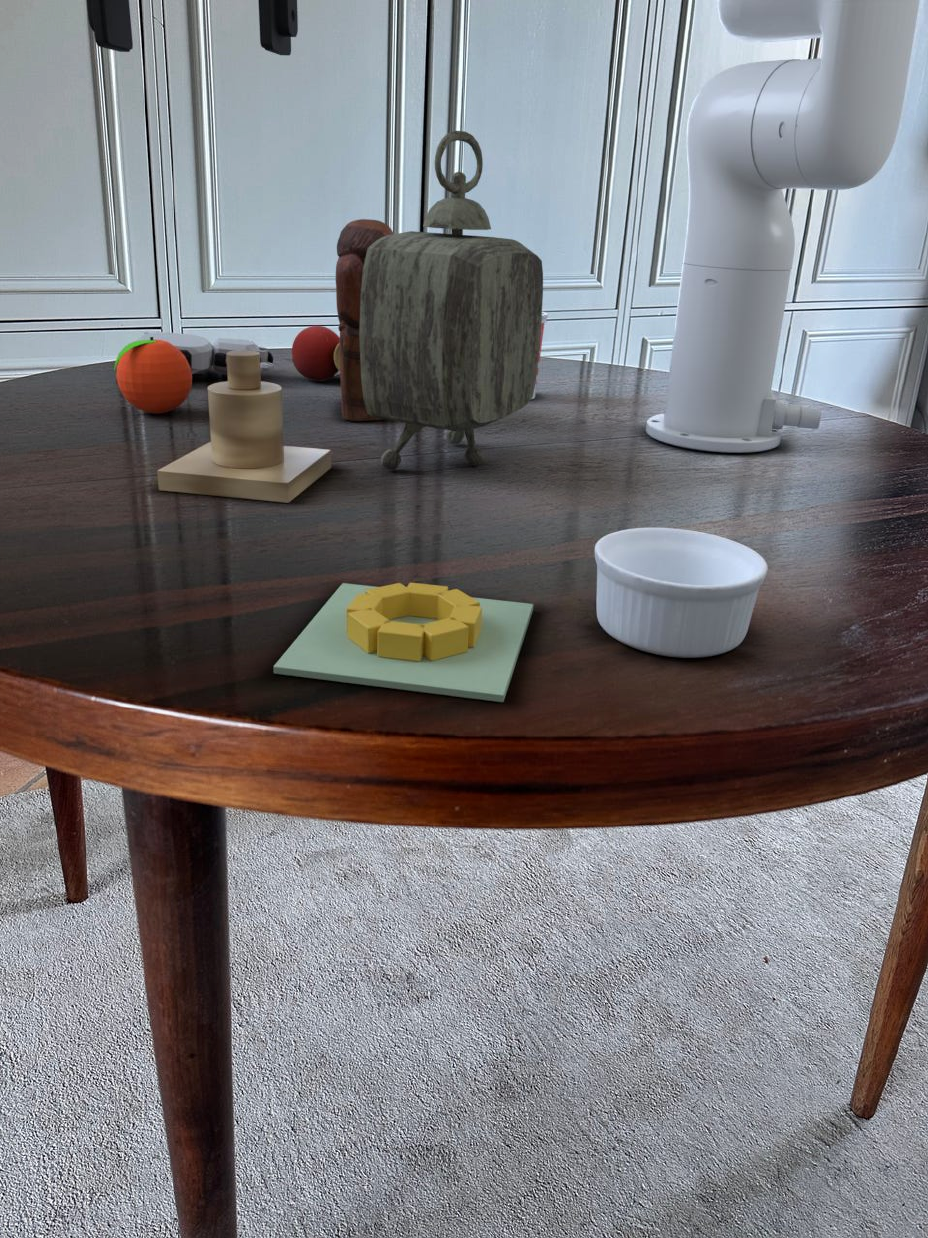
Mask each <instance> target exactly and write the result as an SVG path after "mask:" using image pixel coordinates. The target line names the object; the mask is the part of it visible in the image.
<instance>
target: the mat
mask: <svg viewBox="0 0 928 1238" xmlns="http://www.w3.org/2000/svg"><path fill="white" fill-rule="evenodd" d="M377 587H378V586H375V585H373V586H372V585H363V584H355V583H345V582H342V583H341V585H340V586H339V587H338V588H337V589H336V590H335V592H334V593H333V594H332V595H331V597H330V598H328V600H327V601H326V602H325V604H324V605H323V606H322V607H321V609H320V610H319V611H318V612H317V613H316V615H315V616H314V617H313V618H312V619H311V620H310V621H309V623H308V624H307V625H306V627H305V628H304V629H303V630H302V631H301V633H300V634H299V635H298V636H297V638H296V639H294V641H293V642H292V643H291V645H290V646H289V647H288V648H287V650H286V651H285V652H284V653H283V654H282V655H281V657H280V658H279V659H278V660H277V661H276V662H275V664H274V665H273V674H274V675H275V674H276V675H283V676H292V677H297V678H299V677H300V678H306V679H315V680H322V681H330V682H338V683H346V684H354V685H363V686H370V687H377V688H378V687H379V688H386V689H393V690H394V689H395V690H401V691H408V692H417V693H426V694H433V695H440V696H447V697H448V696H449V697H458V698H465V699H474V700H482V701H488V702H497V703H504V702H505V698H506V695H507V692H508V690H509V686H510V683H511V680H512V677H513V674H514V670H515V667H516V664H517V661H518V658H519V655H520V652H521V649H522V646H523V643H524V639H525V636H526V634H527V630H528V627H529V624H530V621H531V618H532V615H533V612H534V603H528V602H520V601H519V602H518V601H509V600H501V599H500V600H499V599H490V598H483V597H472V596H471V597H472V598H473V599H475V600H477V601H478V602H480V607H482V624H481V632H480V634H479V637H478V639H477V641H476V644H475V646H474V648H470V647H468V651H467V652H465V653H461V654H457V655H453V656H449V657H446V658H442V659H438V660H434V661H430V660H429V659H428V658H426V657H425V656H423V657H422V659H421V661H419V662H417V661H409V660H401V659H393V658H385V657H378V655H377V652H373V653H367V652H366V651H364V650H363V649H362V648H361V647H359V646H358V645H357V644H355V643H354V642H353V641H352V640H350V639H349V638H348V633H347V608H348V606H349V605H350V604H351V602H352V601H353V600H354V598H355V597H356V596H357V595H358V594H359V593H361V594H365V590H367V589H372V588H377ZM390 621H395V622H404V623H412V624H421V625H422V624H426V623H430V622H435V621H439V620H438V619H433V618H424V617H416V616H405V617H400V618H396V619H391V620H390Z"/></svg>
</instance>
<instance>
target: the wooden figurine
mask: <svg viewBox="0 0 928 1238" xmlns="http://www.w3.org/2000/svg"><path fill="white" fill-rule="evenodd" d="M393 234H395V233H394V231H393V230H392V228H391V227H390V226H389V224H387V223H385V222H383V221H381V220H378V219H371V218H370V219H367V218H360V219H355V220H352V221H349V222H348V223H347V224H346V225H345V226H344V227H343V228H342V230H341V231H340V233H339V237H338V239H337V243H336V254H337V257H338V258H337V260H336V263H335V264H336V266H335V297H336V299H335V300H336V312H337V313H336V314H337V319H338V322H339V324H338V327H337V328H338V331H339V348H340V371H339V374H340V376H339V377H340V378H339V379H340V392H341V393H340V394H341V395H340V396H341V397H340V402H341V403H340V407H341V414H342V418H343V419H344V420H348V421H351V422H367V421H370V422H371V421H382V419H380V418H375V417H373V416H371V415H369V414H367V410H366V406H365V402H364V399H363V391H362V382H361V366H360V343H359V326H360V301H361V285H362V276H363V267H364V263H365V258H366V254H367V249H368V247H370V246H371V245H372V244H373V243H374V242H375V241H376V240H378V239H380V238H382V237H384V236H388V235H393Z"/></svg>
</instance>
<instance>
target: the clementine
mask: <svg viewBox="0 0 928 1238" xmlns="http://www.w3.org/2000/svg"><path fill="white" fill-rule="evenodd" d="M115 371H116V375H115V376H116V381H117V386H118V389H119V391H120V392H121V395H122V397H124V399H125V400H126V401H127V402H128V403H129V404H130V405H131V406H133V407H135V408H136V409H138V410H140V411H142V412H145V413H147V414H153V415H154V414H157V415H158V414H159V415H160V414H166V413H169V412H171V411H174V410H176V409H177V408H178V407H180V406H181V405H182V404H183V403H184V402H185V401H186V399H187V398H188V397H189V395H190V391H191V389H192V387H193V386H192V385H193V374H192V373H191V368H190V365H189V363H188V361H187V359H186V357H185V356H184V355H183V353H182V352H181V351H180V350H179V349H178V348H176V347H175V346H174V345H172V344H171V343H169V342H167V341H163V340H153V337H150V339H148V340H140V341H137V340H134V341H132V342H129V343H128V344H126V345H124V347H123V348H122V349H121V350H120V351H119V352H118V354H117V356H116V359H115V362H114V368H113V372H115Z"/></svg>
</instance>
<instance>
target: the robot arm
mask: <svg viewBox="0 0 928 1238" xmlns="http://www.w3.org/2000/svg"><path fill="white" fill-rule="evenodd" d="M920 1H921V0H716V8H717V9H716V11H717V15H718V18H719V22H720V24H721V26H722V28H723V29H724V31H725V32H726V33H727V34H728V35H730V36H731V37H732V38H734V39H736V40H739V41H743V42H749V43H777V42H788V41H799V40H801V41H802V40H813V39H821V51H820V57H818V58H807V59H800V58H791V59H779V60H777V59H776V60H763V61H755V62H748V63H742V64H738V65H734V66H732V67H728V68H727V69H724V70H722V71H720V72H719V73H717V74H715V75H714V76H712V77H711V78H710V79H709V80H708V81H707V82H705V84H704V85H703V86H702V87H701V88H700V90H699V91H698V93H697V94H696V96H695V97H694V100H693V102H692V104H691V106H690V109H689V110H690V111H689V113H688V117H687V123H686V124H687V125H686V137H685V138H686V140H685V141H686V158H687V172H688V174H687V175H688V208H687V209H688V210H687V223H686V232H685V240H684V241H685V243H684V250H683V258H682V259H683V260H682V265H681V273H680V282H679V288H678V298H677V306H676V314H675V321H674V322H675V323H674V330H673V338H672V347H671V354H670V355H671V357H670V362H669V363H670V364H669V371H668V379H667V387H666V388H667V389H666V396H665V403H664V404H665V405H664V413H659V414H655V415H652V416H651V417H649V418H648V419H647V420H646V424H645V426H646V427H645V432H646V433H647V435H648V436H650V437H651V438H653V439H654V440H657V441H659V442H661V443H665V444H667V445H672V446H675V447H678V448H679V447H680V448H683V449H689V450H697V451H704V452H714V453H731V454H733V453H734V454H735V453H737V454H741V453H746V454H747V453H756V452H757V453H759V452H765V451H771V450H773V449H775V448H776V447H778V446H779V445H780V444H781V439H782V436H783V435H782V430H783V428H784V426H788V427H797V428H799V429H811V430H818V429H819V427H820V424H821V418H822V409H821V407H813V406H812V407H810V406H804V404H796V403H789V404H788V403H786V402H784V401H779V400H778V399H777V397H776V395H775V394H774V392H773V389H772V388H773V382H774V375H775V369H776V363H777V358H778V351H779V346H780V339H781V334H782V327H783V321H784V315H785V310H786V304H787V303H786V302H787V297H788V292H789V285H790V278H791V272H792V269H793V264H794V263H793V262H794V256H795V247H796V237H795V228H794V223H793V220H792V216H791V213H790V210H789V207H788V205H787V201H786V198H785V195H784V191H783V190H787V189H791V190H817V191H818V190H819V191H821V190H822V191H841V190H842V191H843V190H851V189H854V188H858V187H860V186H862V185H864V184H866V183H868V182H869V181H871V180H872V179H873V178H875V177H876V176H877V174H878V173H879V172H880V171H881V169H882V168H883V167H884V165H885V164H886V163H887V160H888V159H889V156H890V154H891V153H892V150H893V147H894V144H895V141H896V138H897V134H898V131H899V128H900V122H901V117H902V112H903V106H904V100H905V95H906V89H907V82H908V75H909V70H910V64H911V63H910V62H911V58H912V57H911V56H912V51H913V43H914V40H915V39H914V38H915V31H916V27H917V26H916V25H917V21H918V20H917V19H918V14H919V13H918V12H919V6H920ZM130 7H131V6H130V0H86V9H87V17H88V18H87V19H88V23H89V27H90V29H91V30H92V32H93V34H94V40H95V43H96V46H97V47H99V48H102V49H103V48H104V49H106V50H107V49H108V50H110V51H115V52H120V53H130V52H131V50H133V47H134V43H133V41H134V40H133V32H132V31H133V30H132V29H133V28H132V19H131V8H130ZM298 14H299V13H298V0H258V22H259V23H258V24H259V25H258V26H259V43H260V44H259V45H260V47H261V48H263V49H264V50H265V51H267V52H270V53H273V54H276V55H279V56H291V54H292V38H297V36H298V32H299V20H298V17H299V15H298Z"/></svg>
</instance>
